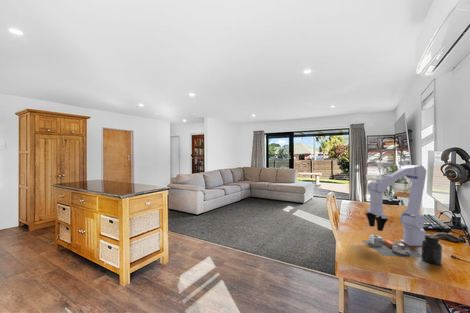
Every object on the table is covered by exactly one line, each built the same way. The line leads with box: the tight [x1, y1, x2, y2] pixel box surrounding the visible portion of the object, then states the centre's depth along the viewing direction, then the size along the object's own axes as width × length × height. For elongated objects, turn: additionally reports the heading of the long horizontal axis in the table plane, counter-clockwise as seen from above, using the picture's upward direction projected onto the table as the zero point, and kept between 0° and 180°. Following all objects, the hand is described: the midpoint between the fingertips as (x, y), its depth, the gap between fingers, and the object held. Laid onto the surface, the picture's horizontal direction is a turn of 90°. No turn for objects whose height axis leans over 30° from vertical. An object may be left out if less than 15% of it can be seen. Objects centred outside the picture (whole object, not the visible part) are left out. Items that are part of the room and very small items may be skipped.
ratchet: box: [383, 238, 410, 257], centre depth 114 cm, size 7×17×4 cm, turn 177°
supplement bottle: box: [421, 234, 443, 266], centre depth 100 cm, size 7×7×12 cm
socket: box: [368, 234, 384, 247], centre depth 119 cm, size 5×5×5 cm
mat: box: [361, 239, 422, 258], centre depth 115 cm, size 20×20×1 cm
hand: (375, 228), depth 119 cm, fingers open, 7 cm apart
